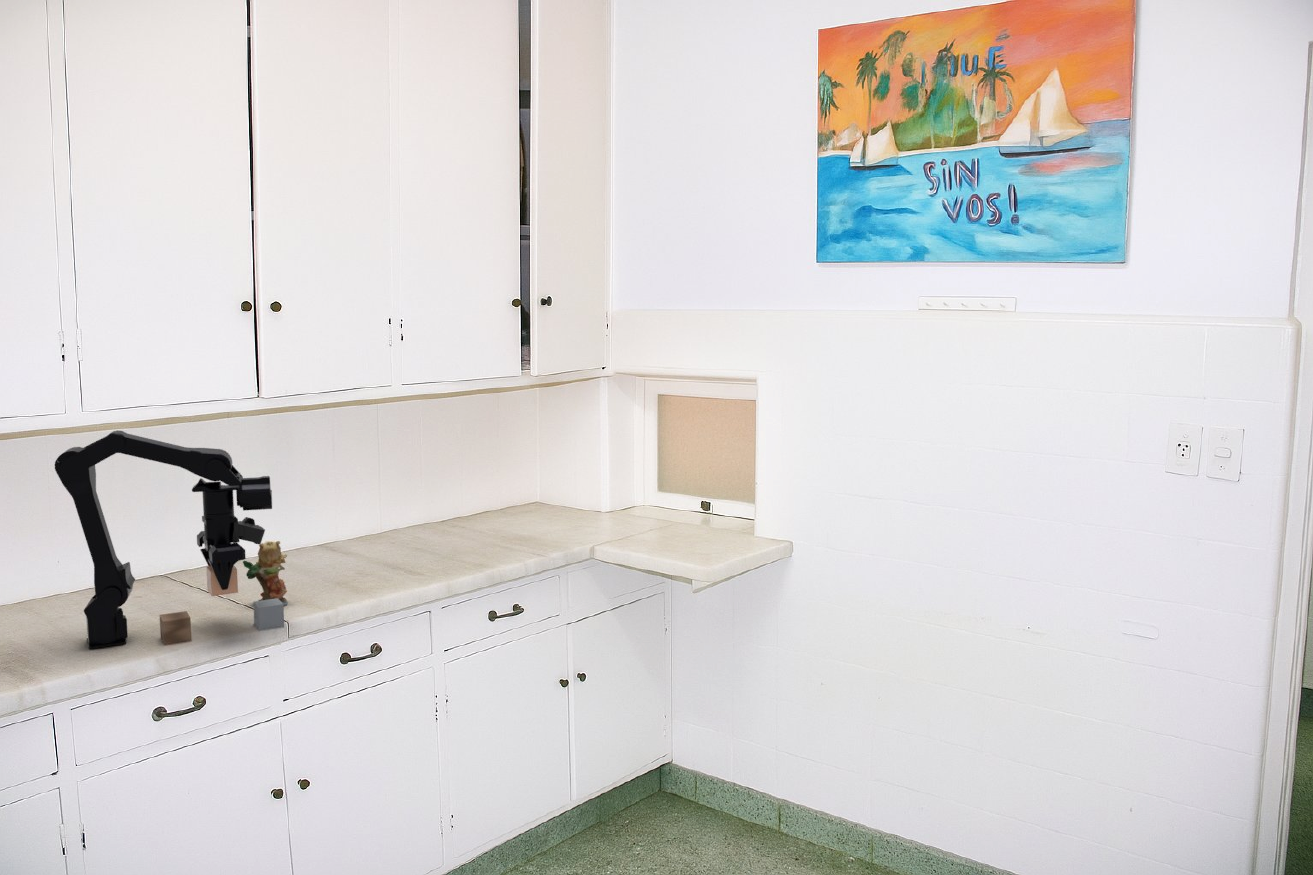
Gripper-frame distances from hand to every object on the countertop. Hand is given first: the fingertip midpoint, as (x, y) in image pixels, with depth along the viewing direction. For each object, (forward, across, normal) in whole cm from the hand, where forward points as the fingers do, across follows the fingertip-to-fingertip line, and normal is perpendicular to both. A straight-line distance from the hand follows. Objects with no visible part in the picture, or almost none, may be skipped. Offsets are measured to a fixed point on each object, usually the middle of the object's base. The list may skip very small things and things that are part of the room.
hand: (222, 586), depth 209 cm
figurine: (+10, +15, -12) cm, 22 cm away
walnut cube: (+10, 0, +9) cm, 14 cm away
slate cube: (+10, 0, -9) cm, 13 cm away
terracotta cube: (+1, 0, 0) cm, 1 cm away
